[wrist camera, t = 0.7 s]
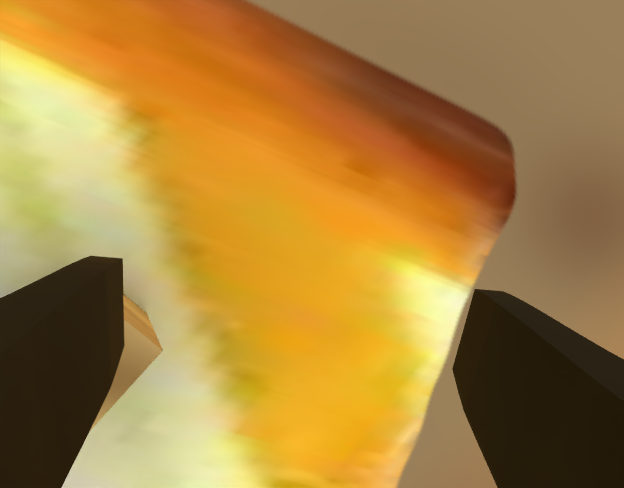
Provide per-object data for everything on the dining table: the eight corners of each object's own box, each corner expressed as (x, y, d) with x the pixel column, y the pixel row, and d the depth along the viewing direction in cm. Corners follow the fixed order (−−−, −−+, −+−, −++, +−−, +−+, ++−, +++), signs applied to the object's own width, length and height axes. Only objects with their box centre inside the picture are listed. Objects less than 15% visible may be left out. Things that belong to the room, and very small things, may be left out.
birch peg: (88, 374, 29) (86, 434, 21) (20, 323, 27) (-7, 369, 20) (146, 312, 30) (162, 350, 22) (83, 261, 28) (78, 282, 21)
